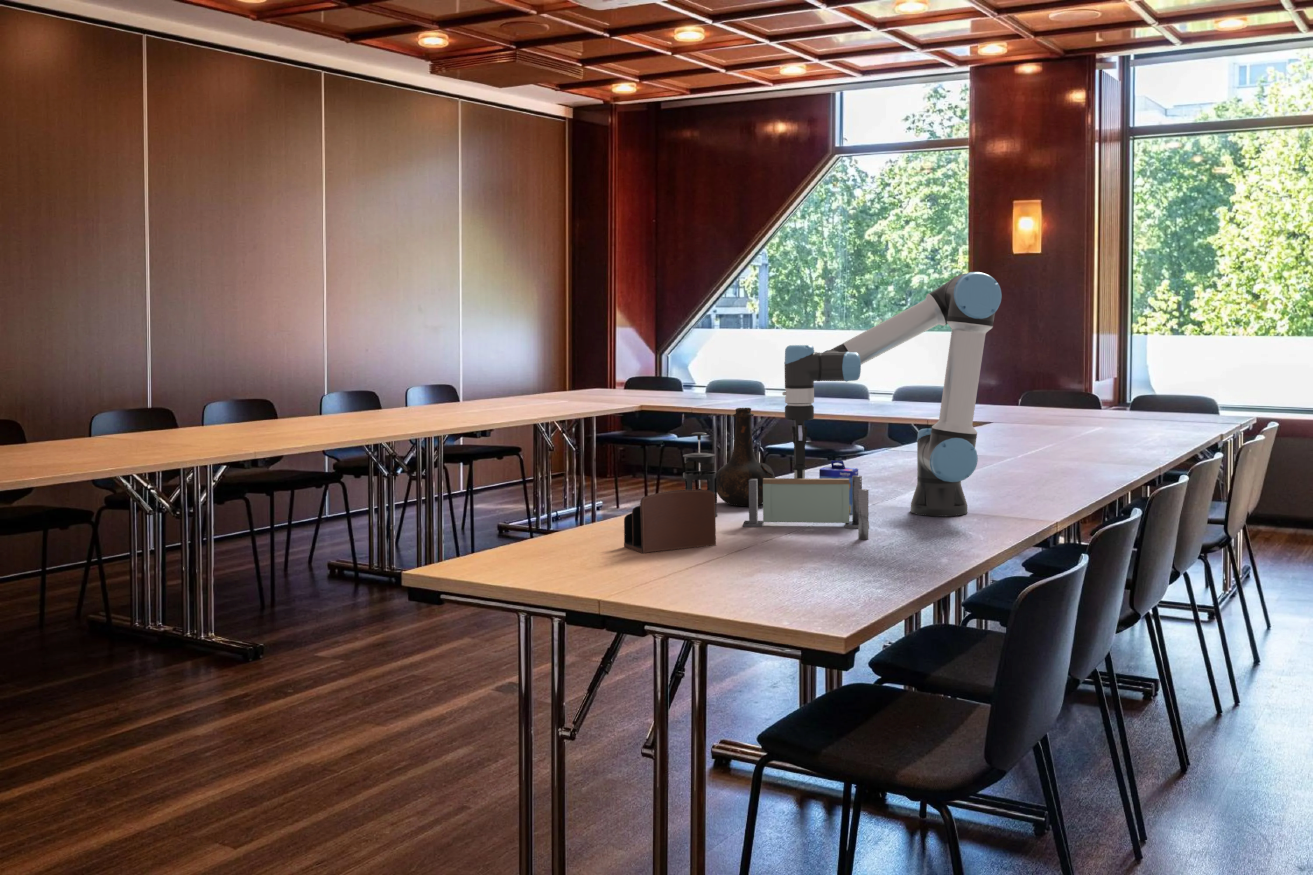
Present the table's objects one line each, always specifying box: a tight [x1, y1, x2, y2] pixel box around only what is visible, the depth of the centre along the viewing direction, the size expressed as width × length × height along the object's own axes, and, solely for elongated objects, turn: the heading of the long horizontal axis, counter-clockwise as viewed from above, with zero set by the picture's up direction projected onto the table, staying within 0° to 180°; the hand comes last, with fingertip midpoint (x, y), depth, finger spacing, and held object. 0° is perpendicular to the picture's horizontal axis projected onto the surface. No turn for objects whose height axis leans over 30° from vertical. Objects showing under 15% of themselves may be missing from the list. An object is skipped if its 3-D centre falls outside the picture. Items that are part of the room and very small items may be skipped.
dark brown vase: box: [716, 407, 776, 507], centre depth 357 cm, size 18×18×28 cm
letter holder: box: [623, 489, 717, 554], centre depth 294 cm, size 10×20×14 cm, turn 117°
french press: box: [682, 431, 718, 518], centre depth 337 cm, size 12×9×23 cm
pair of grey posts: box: [742, 475, 870, 541], centre depth 311 cm, size 32×22×13 cm
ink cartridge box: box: [818, 460, 859, 515], centre depth 340 cm, size 10×6×14 cm, turn 64°
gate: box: [762, 477, 850, 524], centre depth 319 cm, size 22×2×11 cm, turn 81°
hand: (799, 494), depth 324 cm, fingers closed
